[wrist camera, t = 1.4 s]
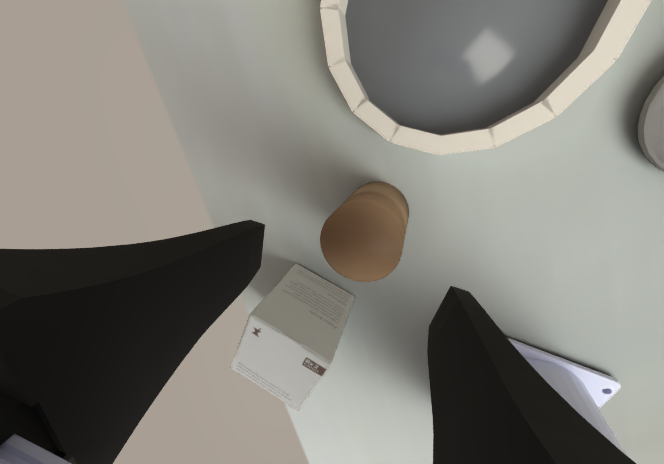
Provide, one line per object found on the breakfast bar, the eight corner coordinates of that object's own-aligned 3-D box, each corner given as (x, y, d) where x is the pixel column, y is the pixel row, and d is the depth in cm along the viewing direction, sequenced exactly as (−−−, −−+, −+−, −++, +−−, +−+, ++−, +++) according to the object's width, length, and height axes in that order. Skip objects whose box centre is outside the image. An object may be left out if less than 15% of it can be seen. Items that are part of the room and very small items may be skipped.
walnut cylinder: (397, 248, 20) (386, 293, 15) (342, 229, 21) (313, 265, 16) (417, 192, 18) (414, 221, 13) (356, 174, 19) (329, 194, 14)
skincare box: (275, 307, 26) (226, 368, 20) (296, 260, 24) (246, 313, 17) (330, 340, 26) (297, 415, 19) (358, 296, 23) (331, 365, 16)
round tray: (532, 176, 16) (545, 183, 14) (314, 119, 19) (302, 119, 17) (735, -194, 10) (802, -262, 8) (369, -199, 13) (360, -251, 11)
